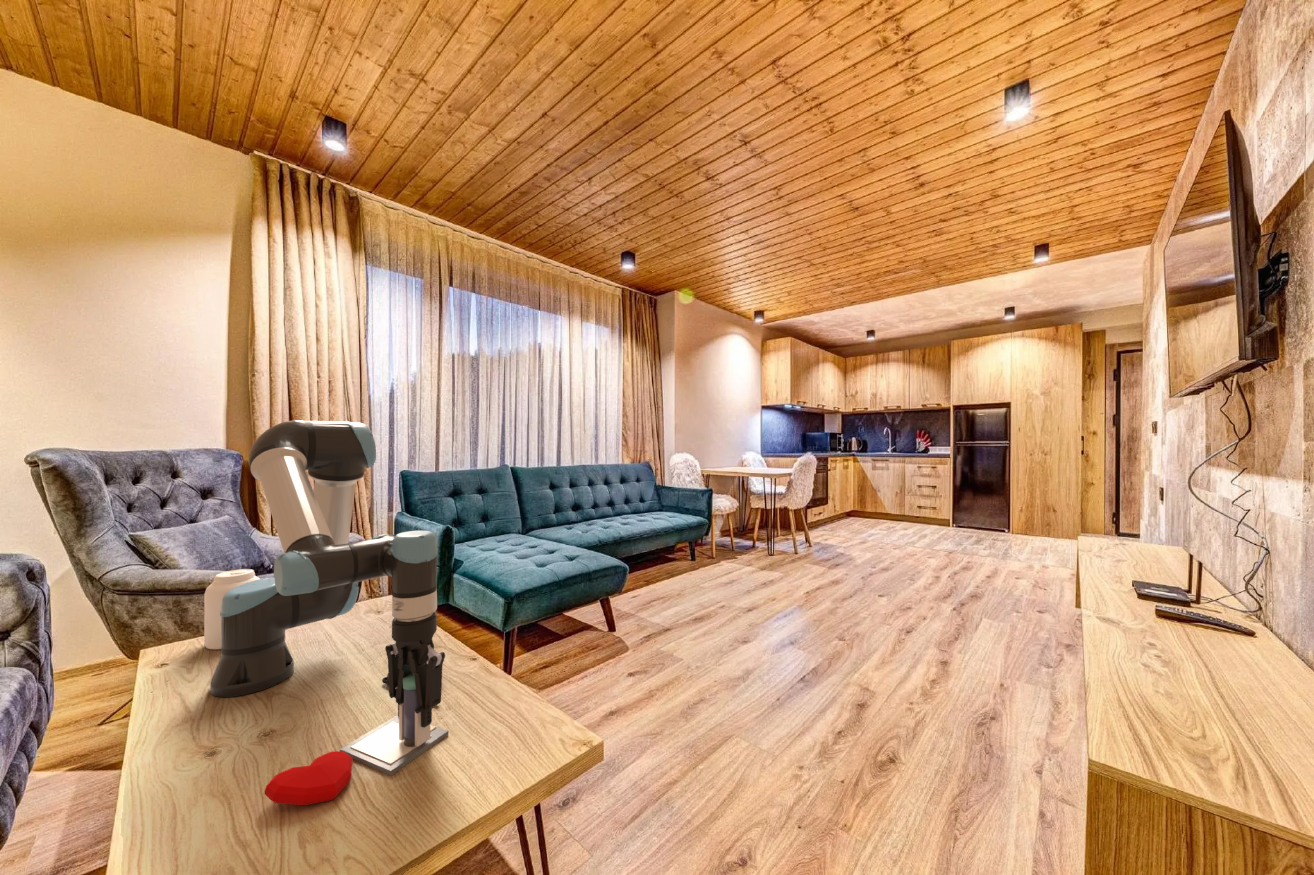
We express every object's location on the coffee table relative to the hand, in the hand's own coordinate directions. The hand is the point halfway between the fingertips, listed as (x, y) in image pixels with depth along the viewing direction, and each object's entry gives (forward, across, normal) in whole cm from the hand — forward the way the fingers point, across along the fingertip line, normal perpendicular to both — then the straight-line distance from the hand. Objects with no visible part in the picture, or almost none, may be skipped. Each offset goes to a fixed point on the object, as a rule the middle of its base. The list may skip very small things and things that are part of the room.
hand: (414, 738), depth 86 cm
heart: (+2, -5, -14) cm, 15 cm away
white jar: (+2, -89, +11) cm, 90 cm away
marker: (0, 0, 0) cm, 0 cm away
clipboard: (+1, -4, -1) cm, 4 cm away
